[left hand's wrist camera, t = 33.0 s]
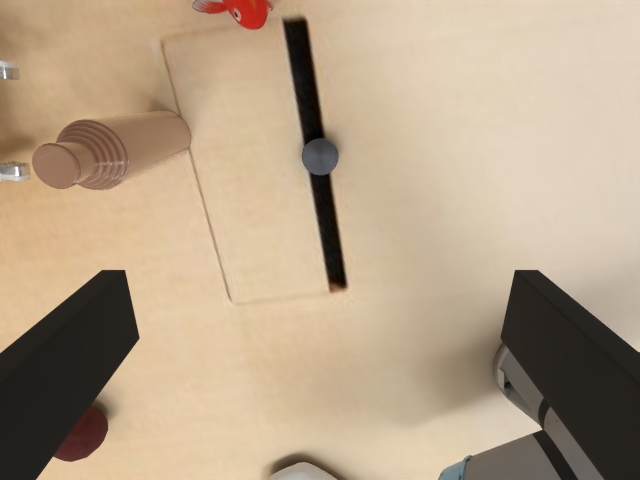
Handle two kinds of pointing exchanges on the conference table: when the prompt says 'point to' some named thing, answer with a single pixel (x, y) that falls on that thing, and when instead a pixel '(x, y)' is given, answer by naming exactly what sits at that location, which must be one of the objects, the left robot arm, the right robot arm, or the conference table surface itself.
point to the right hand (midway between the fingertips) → (20, 124)
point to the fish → (238, 10)
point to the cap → (320, 156)
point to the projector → (301, 473)
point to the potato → (84, 437)
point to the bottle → (111, 149)
